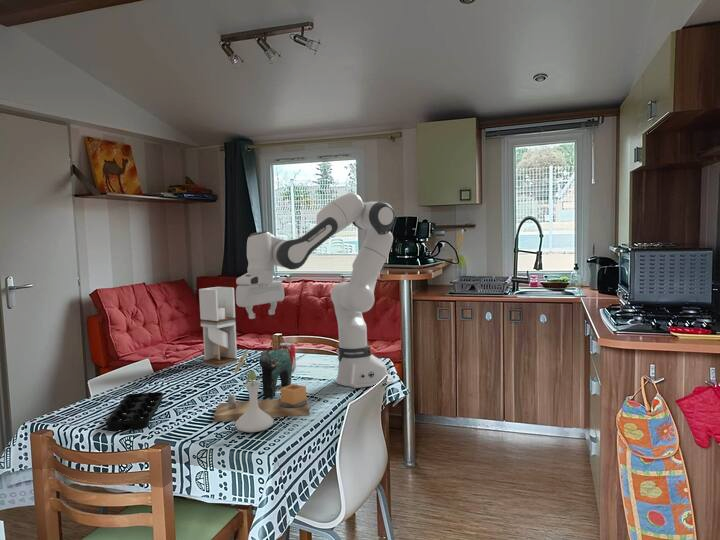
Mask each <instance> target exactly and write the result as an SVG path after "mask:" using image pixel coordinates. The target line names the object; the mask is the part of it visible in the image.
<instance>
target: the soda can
mask: <svg viewBox="0 0 720 540" xmlns="http://www.w3.org/2000/svg"><path fill="white" fill-rule="evenodd" d="M281 345H284V346H285V347H286V350H287V351H288V353H289V355H290V358H291V362H292V373H293V372H294V371H295V370H296V367H297V364H296V359H297V357H296V347H295V345H294V342H291V341H290V342H289V341H287V342H281V343H279V346H281ZM279 349H284V350H285V348H284V347H280V348H279Z"/></svg>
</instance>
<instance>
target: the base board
mask: <svg viewBox="0 0 720 540" xmlns="http://www.w3.org/2000/svg"><path fill="white" fill-rule="evenodd" d="M290 389H292V390H294V389H297V388H290ZM257 403H258V407H259V408H260V409H261V410H262V411H264V412H265V413H267V414H268V415H270V416H271V417H272V418H280V417H281V418H282V417H283V416H284V417H295V416H308V415H310V404H309V403H310V402H309V397H308V396H306V400H305V401H302V402H300V403H297V404H295V405H292V404H288V403H284V402H281V398H274V399H273V398H272V399H262V400H261V399H260V400H257ZM249 407H250V400H246V401H237V397H236V395H235V394H231V395H227V402H219V403H218V404H217V407H216V410H215V412H214V414H213V421H214V422H215V421H217V422H228V421H229V422H230V421H237V420H238V419H239V418H240V417H241V416H242V415H243V414H244V413H245V412H246V411H247V410H248V409H249Z"/></svg>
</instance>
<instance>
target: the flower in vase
mask: <svg viewBox="0 0 720 540" xmlns="http://www.w3.org/2000/svg"><path fill="white" fill-rule="evenodd" d="M248 352H249V350H248V349H245V350H244V352H243V354H242V356H241V358H240V359H239V362H237V366H236V367H235V369H234V371H233V373H234V374H235V375H236V374H237V373H238V372H239V370H240V369H241V367H242V366H243V365H245V367H246V370H247V371H248V373H249V374H248V375H247V378H246V381H245V383H244V385H243V386H245V388H246V390H247V392H248V395H249V396H248V397H249V401H250V407H249V409H248V410H247V411H246V412H245V413H244V414H243V415H242V416H241V417H240V418H239V419H238V420H235V421H236V422H235V425H234V426H235V428H236V429H237V431H240V432H244V433H257V432H262V431H265V430H268V429H269V428H271V427H272V426H273V424H274V422H275V421H274V418H273V417H271V416H270V415H268V414H267V413H265V412H264V411H262V410H261V409H260V408H259V407H258V403H257V401H258V393H259V389H260V387H261V385H262V382H260V381H255V380H256V379H257V376H258V375H257V374H256V372H255V370H254V369H252V370H251V369H249V366H248V365H247V363H246V361H245V359H246V357H247V354H248ZM250 370H251V371H250Z"/></svg>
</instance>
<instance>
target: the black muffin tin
mask: <svg viewBox="0 0 720 540" xmlns="http://www.w3.org/2000/svg"><path fill="white" fill-rule="evenodd" d="M163 397H164V392H162V391H157V392H156V391H155V392H152V391H151V392H141V393H128V394H126V395H125V397H124V398H123V399H122V400H121V401H120V403H119V404H118V405H117V406H116V407H115V409H114V410H113V412H112V413H111V414H110V415H109V416H108V418H107V419H106V420H105V425H106V427H107V432H109V431H115V432H120V431H119V430H122V431H124V430H123V429H125V430H126V429H129V430H131V429H135V430H142V428H143V429H146V428H148V427H149V426H148V425H150V422H151V421H152V420H153V416H154V415H155V414H156V413H157V410H159V408H160V405H161V404H162V403H163ZM151 401H153V402H151ZM133 402H134V403H133ZM161 402H162V403H161ZM160 403H161V404H160ZM147 406H150V407H147ZM158 407H159V408H158ZM127 408H128V409H127ZM156 409H157V410H156ZM144 411H147V412H144ZM155 412H156V413H155ZM123 413H126V414H123ZM140 417H143V418H140ZM118 419H121V420H118ZM149 421H150V422H149ZM127 427H128V428H127ZM129 427H130V428H129Z"/></svg>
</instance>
